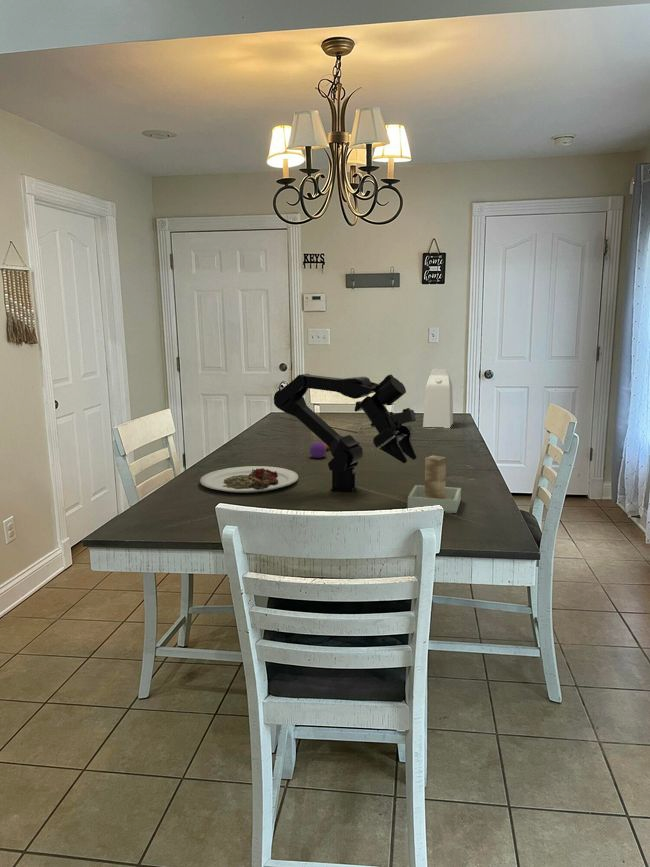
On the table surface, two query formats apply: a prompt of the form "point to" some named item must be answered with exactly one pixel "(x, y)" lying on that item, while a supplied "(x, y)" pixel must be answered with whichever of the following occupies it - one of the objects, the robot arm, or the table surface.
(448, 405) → the milk
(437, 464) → the wooden block tower
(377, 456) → the table surface
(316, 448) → the purple and orange maraca
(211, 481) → the plated food
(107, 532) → the table surface
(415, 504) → the box
